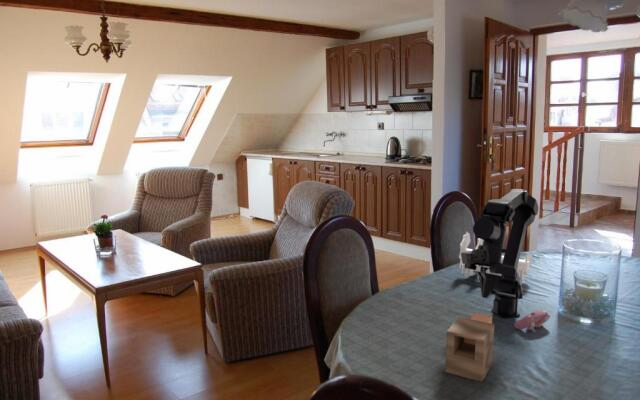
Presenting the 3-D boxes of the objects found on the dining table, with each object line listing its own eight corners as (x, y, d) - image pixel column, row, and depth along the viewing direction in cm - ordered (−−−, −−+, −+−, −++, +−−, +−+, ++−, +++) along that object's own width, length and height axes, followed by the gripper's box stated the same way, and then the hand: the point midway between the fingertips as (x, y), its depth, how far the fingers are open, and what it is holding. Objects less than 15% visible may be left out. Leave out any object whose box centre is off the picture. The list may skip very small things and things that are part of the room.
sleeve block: (457, 355, 132) (459, 316, 130) (492, 364, 127) (494, 324, 125) (445, 371, 124) (446, 331, 122) (481, 381, 119) (483, 339, 117)
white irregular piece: (521, 300, 180) (455, 284, 194) (534, 269, 191) (471, 255, 205) (520, 263, 170) (450, 248, 185) (534, 232, 181) (467, 220, 196)
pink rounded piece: (522, 337, 146) (532, 321, 142) (511, 325, 149) (521, 309, 145) (545, 330, 150) (555, 314, 146) (534, 319, 153) (544, 303, 149)
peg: (474, 327, 136) (475, 312, 135) (491, 331, 134) (492, 315, 133) (463, 342, 128) (464, 326, 127) (481, 346, 125) (482, 330, 124)
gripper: (452, 237, 150) (444, 288, 149) (484, 238, 132) (474, 297, 130) (486, 244, 152) (477, 295, 151) (521, 246, 134) (512, 304, 132)
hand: (484, 297), depth 141 cm, fingers closed
